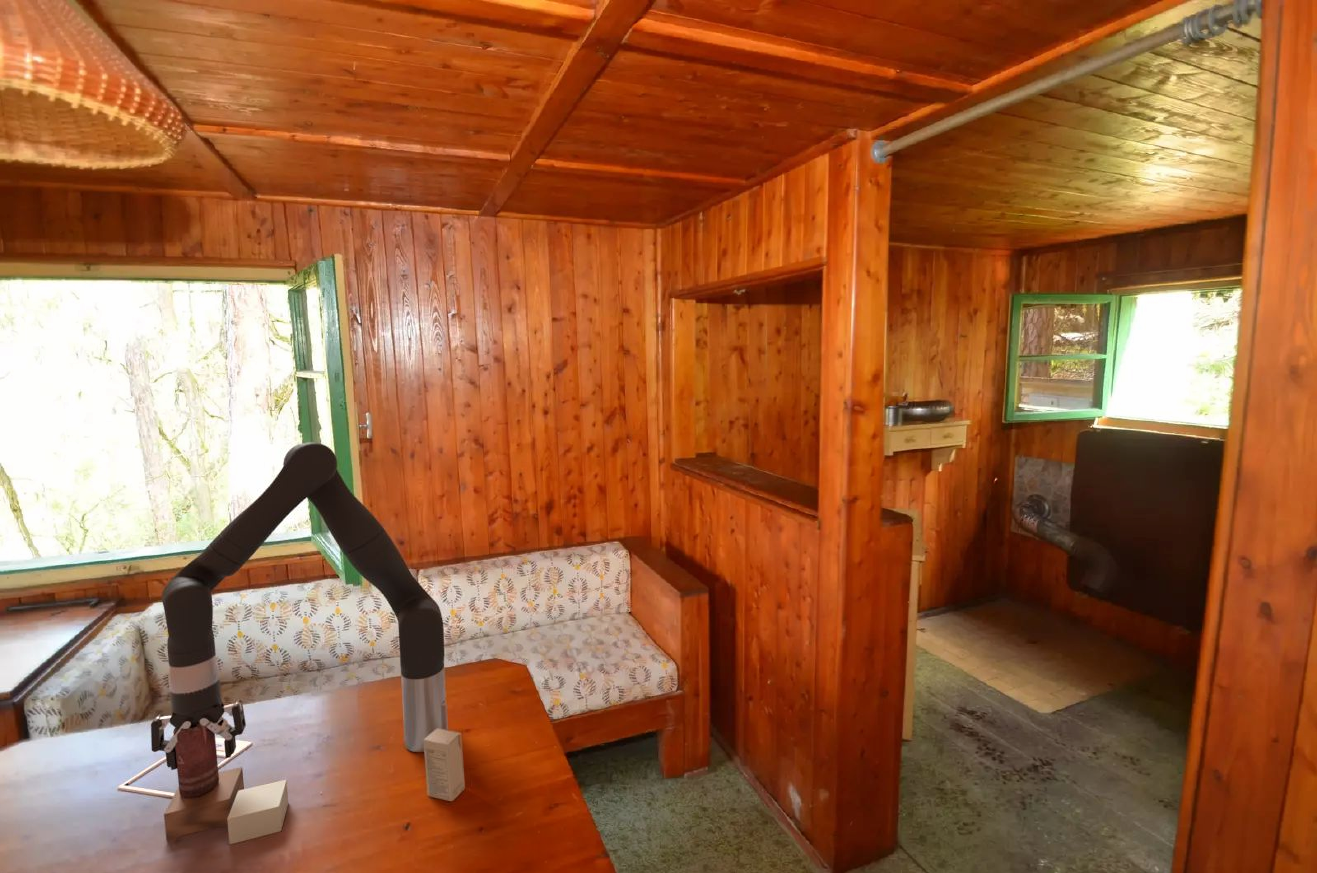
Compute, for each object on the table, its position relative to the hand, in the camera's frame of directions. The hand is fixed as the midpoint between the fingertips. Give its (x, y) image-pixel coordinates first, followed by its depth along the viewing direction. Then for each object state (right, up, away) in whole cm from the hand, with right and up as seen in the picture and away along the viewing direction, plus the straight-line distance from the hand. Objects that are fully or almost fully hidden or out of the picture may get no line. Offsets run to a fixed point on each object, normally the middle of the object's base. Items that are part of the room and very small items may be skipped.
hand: (202, 761), depth 116 cm
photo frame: (-15, -10, +16) cm, 23 cm away
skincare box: (+44, -10, +7) cm, 46 cm away
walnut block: (0, -11, +1) cm, 11 cm away
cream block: (+12, -11, -1) cm, 16 cm away
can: (-1, -6, +1) cm, 6 cm away
